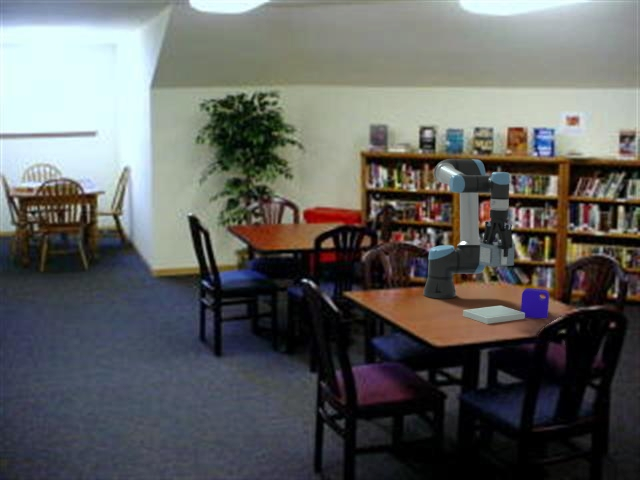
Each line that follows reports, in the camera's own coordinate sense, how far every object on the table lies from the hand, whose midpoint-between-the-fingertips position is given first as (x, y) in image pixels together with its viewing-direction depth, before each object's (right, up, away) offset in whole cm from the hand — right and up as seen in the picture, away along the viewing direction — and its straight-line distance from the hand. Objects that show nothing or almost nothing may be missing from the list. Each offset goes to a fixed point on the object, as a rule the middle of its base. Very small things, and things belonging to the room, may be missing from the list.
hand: (496, 262), depth 359 cm
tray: (-1, -23, +1) cm, 23 cm away
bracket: (+19, -22, +11) cm, 31 cm away
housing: (0, -1, 0) cm, 1 cm away
